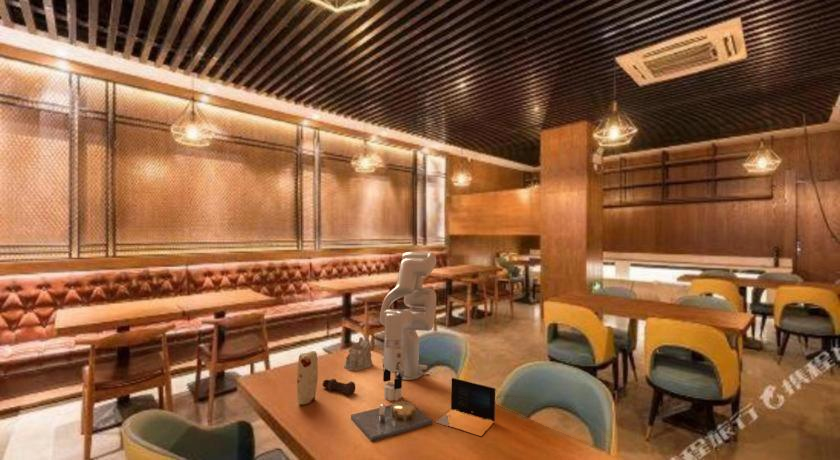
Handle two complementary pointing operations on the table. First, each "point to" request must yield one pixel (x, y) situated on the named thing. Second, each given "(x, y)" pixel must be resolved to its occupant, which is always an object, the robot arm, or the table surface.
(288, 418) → the table surface
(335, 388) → the bolt
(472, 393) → the laptop
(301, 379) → the food model
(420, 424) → the carrier plate
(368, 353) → the grey jagged tapered piece
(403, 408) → the sun gear
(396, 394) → the planet gear
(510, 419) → the table surface
